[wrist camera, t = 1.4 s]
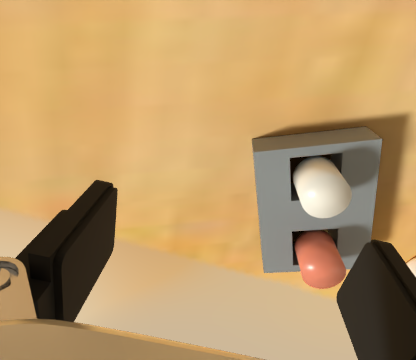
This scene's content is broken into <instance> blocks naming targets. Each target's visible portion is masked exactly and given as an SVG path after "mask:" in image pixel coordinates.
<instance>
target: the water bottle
mask: <svg viewBox="0 0 416 360" xmlns="http://www.w3.org/2000/svg"><path fill="white" fill-rule="evenodd" d="M406 264H407V266H408V267H409V268H410V270H411V271H412V273H413V274H414V275H415V277H416V258H413V259H412V260H410V261H408V262H407V263H406Z"/></svg>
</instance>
